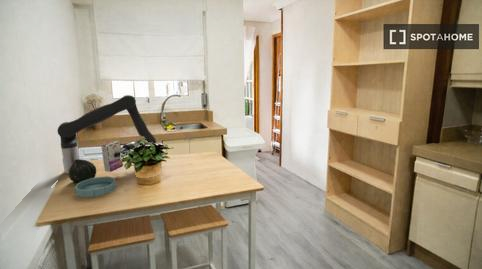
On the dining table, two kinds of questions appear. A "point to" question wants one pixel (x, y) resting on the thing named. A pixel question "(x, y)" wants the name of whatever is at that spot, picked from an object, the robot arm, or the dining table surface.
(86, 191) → the bowl
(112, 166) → the candy bar box
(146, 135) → the robot arm
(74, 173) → the squash
